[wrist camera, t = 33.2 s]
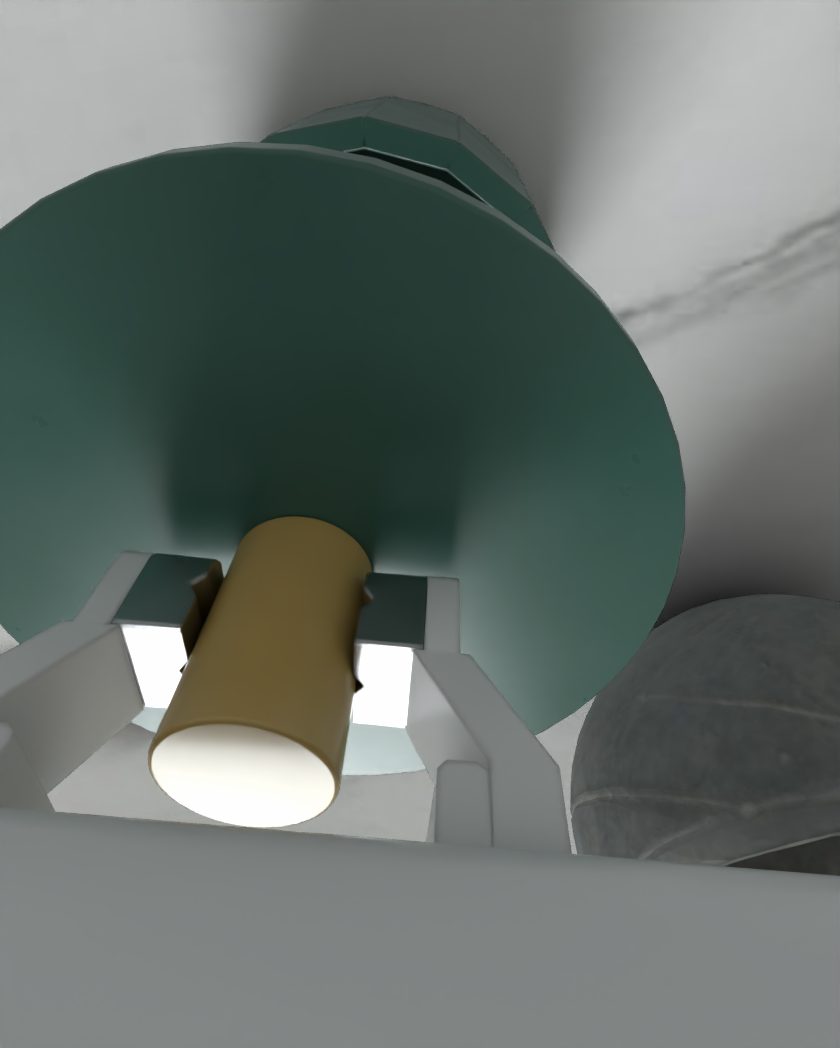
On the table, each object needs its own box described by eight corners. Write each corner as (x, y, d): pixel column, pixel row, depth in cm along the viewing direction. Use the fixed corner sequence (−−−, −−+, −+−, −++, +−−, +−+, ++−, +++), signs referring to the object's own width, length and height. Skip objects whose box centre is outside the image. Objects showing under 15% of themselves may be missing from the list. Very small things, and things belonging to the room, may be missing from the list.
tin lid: (17, 679, 15) (-148, 915, 11) (-139, 9, 8) (-840, -36, 4) (529, 770, 16) (553, 1013, 12) (826, 272, 9) (1147, 466, 5)
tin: (236, 375, 28) (168, 478, 22) (255, 56, 21) (162, 60, 15) (490, 433, 30) (501, 548, 23) (587, 148, 23) (643, 191, 16)
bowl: (680, 796, 47) (758, 1055, 35) (472, 662, 39) (480, 935, 27) (987, 657, 37) (1245, 951, 25) (789, 441, 29) (1025, 716, 17)
